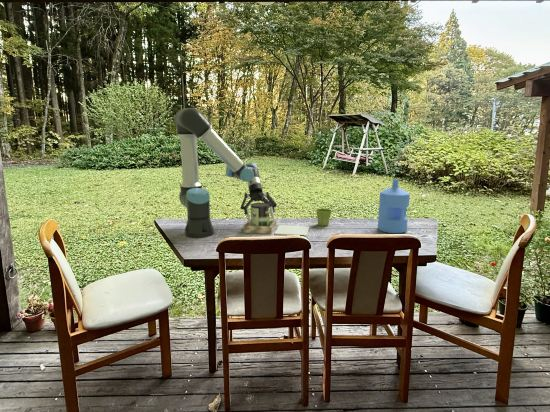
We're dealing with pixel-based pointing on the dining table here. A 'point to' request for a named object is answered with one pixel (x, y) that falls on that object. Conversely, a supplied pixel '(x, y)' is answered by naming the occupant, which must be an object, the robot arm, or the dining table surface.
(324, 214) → the plant pot
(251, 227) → the birch frame
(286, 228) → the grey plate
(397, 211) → the water jug
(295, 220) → the dining table surface
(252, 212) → the coffee can
